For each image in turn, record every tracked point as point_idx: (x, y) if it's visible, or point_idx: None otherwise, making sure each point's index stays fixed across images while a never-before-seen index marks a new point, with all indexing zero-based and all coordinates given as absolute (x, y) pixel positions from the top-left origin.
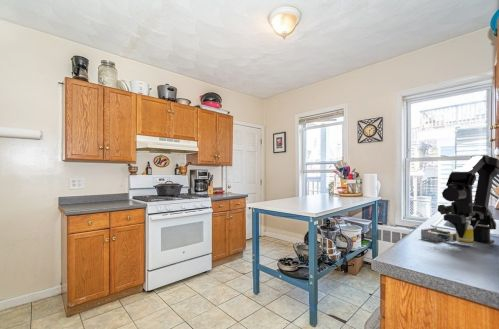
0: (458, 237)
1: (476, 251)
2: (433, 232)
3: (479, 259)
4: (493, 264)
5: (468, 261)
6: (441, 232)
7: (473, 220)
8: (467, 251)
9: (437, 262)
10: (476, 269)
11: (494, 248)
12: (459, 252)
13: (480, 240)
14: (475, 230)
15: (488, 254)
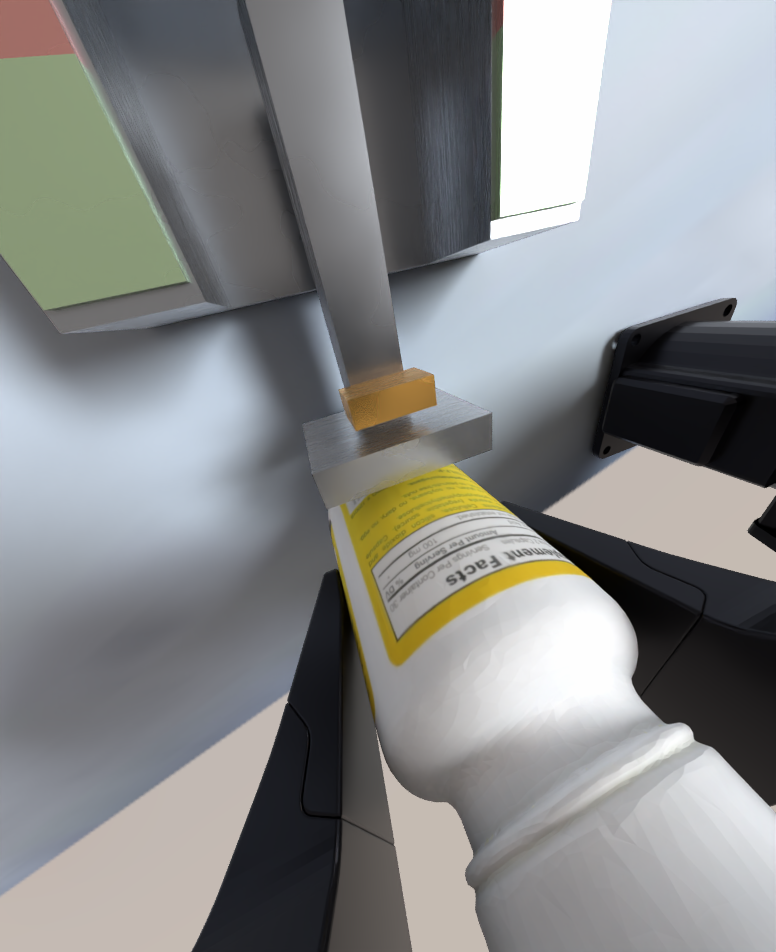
0: (337, 546)
1: None
2: (7, 100)
3: (186, 717)
4: (200, 752)
5: (58, 767)
6: (468, 76)
7: (771, 800)
8: (253, 607)
9: None
10: (5, 841)
11: None
12: (150, 636)
13: (605, 430)
14: (740, 415)
15: None
